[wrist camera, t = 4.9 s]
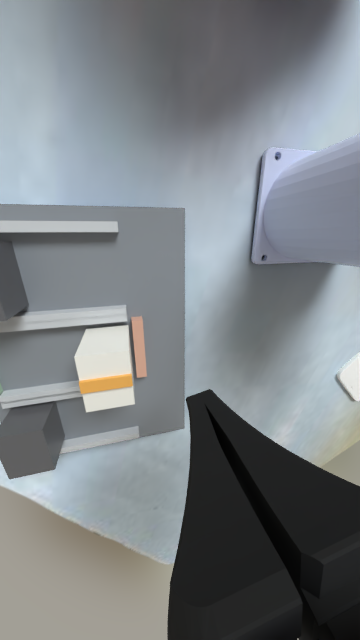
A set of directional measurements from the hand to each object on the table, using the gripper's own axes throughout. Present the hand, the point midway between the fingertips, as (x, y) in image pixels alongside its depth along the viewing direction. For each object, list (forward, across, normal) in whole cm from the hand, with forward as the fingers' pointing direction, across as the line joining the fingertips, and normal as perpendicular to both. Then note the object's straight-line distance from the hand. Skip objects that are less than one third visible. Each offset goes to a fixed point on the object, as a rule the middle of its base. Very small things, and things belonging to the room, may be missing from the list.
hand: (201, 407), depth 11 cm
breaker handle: (+7, +5, -1) cm, 9 cm away
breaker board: (+9, +6, -1) cm, 11 cm away
